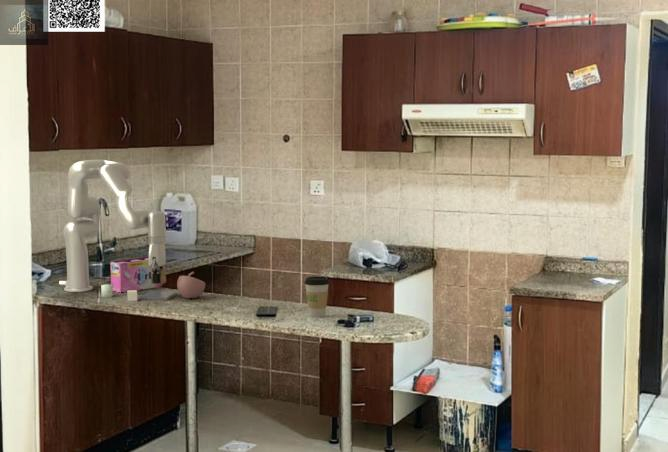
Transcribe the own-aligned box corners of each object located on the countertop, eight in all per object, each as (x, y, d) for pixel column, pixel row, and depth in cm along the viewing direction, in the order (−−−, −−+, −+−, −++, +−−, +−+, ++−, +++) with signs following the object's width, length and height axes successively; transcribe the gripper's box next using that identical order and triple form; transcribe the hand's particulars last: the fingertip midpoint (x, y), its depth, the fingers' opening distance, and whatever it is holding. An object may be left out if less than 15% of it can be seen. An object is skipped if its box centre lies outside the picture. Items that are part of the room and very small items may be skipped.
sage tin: (99, 297, 429) (99, 286, 429) (103, 295, 434) (103, 284, 433) (110, 297, 428) (110, 286, 428) (114, 295, 433) (114, 284, 433)
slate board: (139, 299, 423) (139, 297, 423) (150, 293, 437) (150, 291, 436) (167, 300, 421) (166, 297, 421) (176, 294, 435) (176, 291, 435)
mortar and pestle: (210, 297, 428) (210, 271, 427) (194, 301, 418) (193, 275, 416) (188, 294, 434) (187, 269, 433) (171, 299, 423) (171, 273, 422)
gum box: (154, 284, 461) (153, 255, 460) (164, 286, 456) (163, 257, 454) (110, 291, 444) (109, 261, 443) (120, 293, 439) (119, 263, 437)
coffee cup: (304, 313, 391) (303, 276, 390) (328, 313, 392) (328, 276, 390) (305, 318, 382) (305, 280, 380) (330, 318, 382) (330, 280, 381)
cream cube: (127, 301, 420) (127, 292, 419) (127, 299, 424) (127, 290, 423) (137, 300, 421) (137, 291, 420) (137, 299, 425) (136, 290, 424)
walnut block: (151, 283, 426) (150, 270, 425) (155, 282, 431) (154, 268, 430) (162, 284, 425) (162, 270, 425) (166, 282, 430) (165, 268, 430)
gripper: (155, 237, 435) (156, 278, 437) (142, 242, 418) (143, 285, 420) (171, 237, 434) (172, 278, 436) (159, 242, 417) (160, 285, 419)
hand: (158, 281), depth 428 cm, fingers closed on walnut block, 5 cm apart
